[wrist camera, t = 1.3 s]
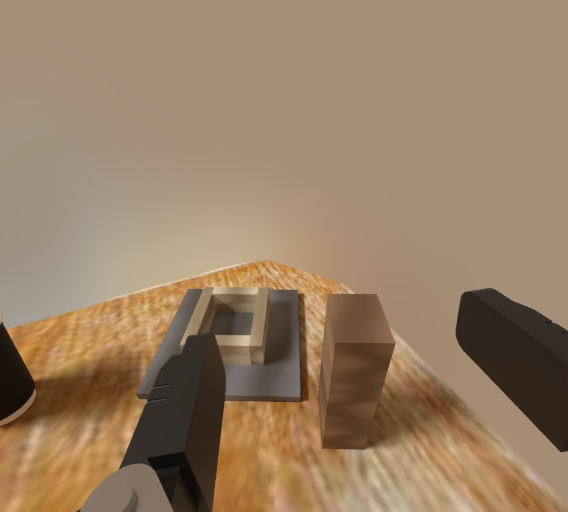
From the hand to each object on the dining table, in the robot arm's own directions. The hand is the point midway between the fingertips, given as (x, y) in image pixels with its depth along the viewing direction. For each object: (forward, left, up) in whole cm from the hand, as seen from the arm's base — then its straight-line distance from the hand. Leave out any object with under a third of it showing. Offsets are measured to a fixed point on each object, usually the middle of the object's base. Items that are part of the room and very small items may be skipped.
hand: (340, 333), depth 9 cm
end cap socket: (-10, +20, -23) cm, 32 cm away
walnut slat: (+3, +9, -23) cm, 25 cm away
